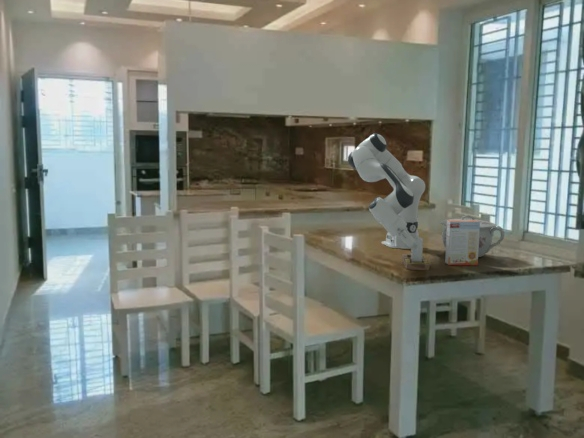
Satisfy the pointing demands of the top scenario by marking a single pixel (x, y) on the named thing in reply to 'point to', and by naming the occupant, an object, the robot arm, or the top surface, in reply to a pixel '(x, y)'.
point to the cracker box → (462, 242)
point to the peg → (414, 254)
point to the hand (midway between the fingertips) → (418, 249)
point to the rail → (414, 263)
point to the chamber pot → (484, 234)
